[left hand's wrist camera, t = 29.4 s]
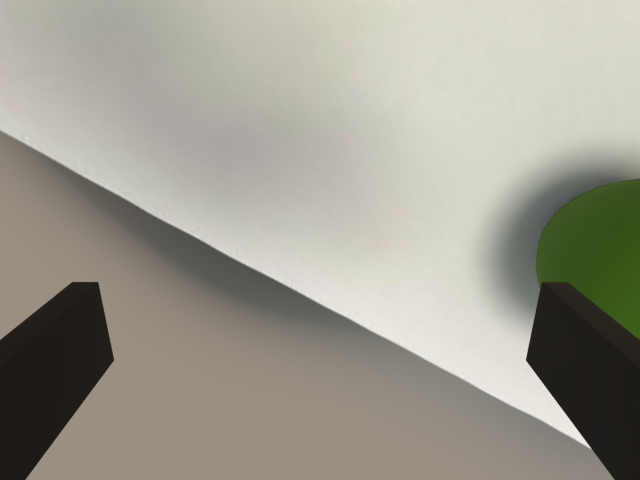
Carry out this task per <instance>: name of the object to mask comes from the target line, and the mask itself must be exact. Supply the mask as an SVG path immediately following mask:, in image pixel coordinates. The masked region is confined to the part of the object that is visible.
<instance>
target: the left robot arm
mask: <svg viewBox="0 0 640 480" xmlns="http://www.w3.org/2000/svg"><path fill="white" fill-rule="evenodd" d="M113 361H114V358H113V353H112V348H111V343H110V338H109V333H108V328H107V323H106V318H105V313H104V308H103V304H102V299H101V294H100V289H99V284H98V282H72V283H71V284H69V285H68V286H67V287H66V288H64V289H63V290H62V291H61V292H59V293H58V294H57V295H56V296H54V297H53V298H52V299H51V300H49V301H48V302H47V303H46V304H44V305H43V306H42V307H41V308H39V309H38V310H37V311H36V312H35V313H33V314H32V315H31V316H30V317H28V318H27V319H26V320H25V321H23V322H22V323H21V324H20V325H18V326H17V327H16V328H15V329H13V330H12V331H11V332H10V333H8V334H7V335H6V336H5V337H3V338H2V339H1V340H0V480H25V479H26V478H27V477H28V475H29V474H30V473H31V471H32V470H33V469H34V467H35V466H36V465H37V463H38V462H39V461H40V459H41V458H42V457H43V455H44V454H45V452H46V451H47V450H48V448H49V447H50V446H51V444H52V443H53V442H54V440H55V439H56V438H57V436H58V435H59V434H60V432H61V431H62V430H63V428H64V427H65V426H66V424H67V423H68V421H69V420H70V419H71V417H72V416H73V415H74V413H75V412H76V411H77V409H78V408H79V407H80V405H81V404H82V403H83V401H84V400H85V399H86V397H87V396H88V395H89V393H90V392H91V391H92V389H93V388H94V387H95V385H96V384H97V382H98V381H99V380H100V378H101V377H102V376H103V374H104V373H105V372H106V370H107V369H108V368H109V366H110V365H111V364H112V362H113ZM526 361H527V362H528V364H529V365H530V366H531V368H532V369H533V370H534V372H535V373H536V374H537V376H538V377H539V378H540V380H541V381H542V382H543V384H544V385H545V387H546V388H547V389H548V391H549V392H550V393H551V395H552V396H553V397H554V399H555V400H556V401H557V403H558V404H559V405H560V407H561V408H562V409H563V411H564V412H565V413H566V415H567V416H568V417H569V419H570V420H571V422H572V423H573V424H574V426H575V427H576V428H577V430H578V431H579V432H580V434H581V435H582V436H583V438H584V439H585V440H586V442H587V443H588V444H589V446H590V447H591V448H592V450H593V451H594V453H595V454H596V455H597V457H598V458H599V459H600V461H601V462H602V463H603V465H604V466H605V467H606V469H607V470H608V471H609V473H610V474H611V475H612V477H613V478H614V479H615V480H640V340H639V339H638V338H637V337H635V336H634V335H633V334H632V333H630V332H629V331H628V330H627V329H625V328H624V327H623V326H622V325H620V324H619V323H618V322H617V321H615V320H614V319H613V318H612V317H610V316H609V315H608V314H607V313H606V312H604V311H603V310H602V309H601V308H599V307H598V306H597V305H596V304H594V303H593V302H592V301H591V300H589V299H588V298H587V297H586V296H584V295H583V294H582V293H581V292H579V291H578V290H577V289H576V288H574V287H573V286H572V285H571V284H569V283H568V282H542V284H541V289H540V294H539V299H538V304H537V308H536V313H535V318H534V323H533V328H532V333H531V338H530V343H529V348H528V353H527V357H526Z"/></svg>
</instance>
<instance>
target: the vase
mask: <svg viewBox="0 0 640 480" xmlns="http://www.w3.org/2000/svg"><path fill="white" fill-rule="evenodd" d="M536 271H537V279H538V283H539V286H540V289H541V284H542V282H568V283H569V284H571V285H572V286H573V287H574V288H576V289H577V290H578V291H579V292H581V293H582V294H583V295H584V296H586V297H587V298H588V299H589V300H591V301H592V302H593V303H594V304H596V305H597V306H598V307H599V308H601V309H602V310H603V311H604V312H606V313H607V314H608V315H609V316H610V317H612V318H613V319H614V320H615V321H617V322H618V323H619V324H620V325H622V326H623V327H624V328H625V329H627V330H628V331H629V332H630V333H632V334H633V335H634V336H635V337H637V338H638V339H639V340H640V179H635V180H629V181H623V182H617V183H612V184H608V185H604V186H601V187H597V188H595V189H593V190H591V191H589V192H587V193H584V194H582V195H581V196H579V197H577V198H575V199H574V200H572V201H570V202H569V203H567V204H566V205H564V206H563V207H562V208H561V209H560V210H559V211H558V212H556V213H555V214H554V216H553V217H552V218H551V219H550V221H549V222H548V223H547V225H546V227H545V229H544V231H543V233H542V236H541V239H540V242H539V247H538V251H537V260H536Z"/></svg>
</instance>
